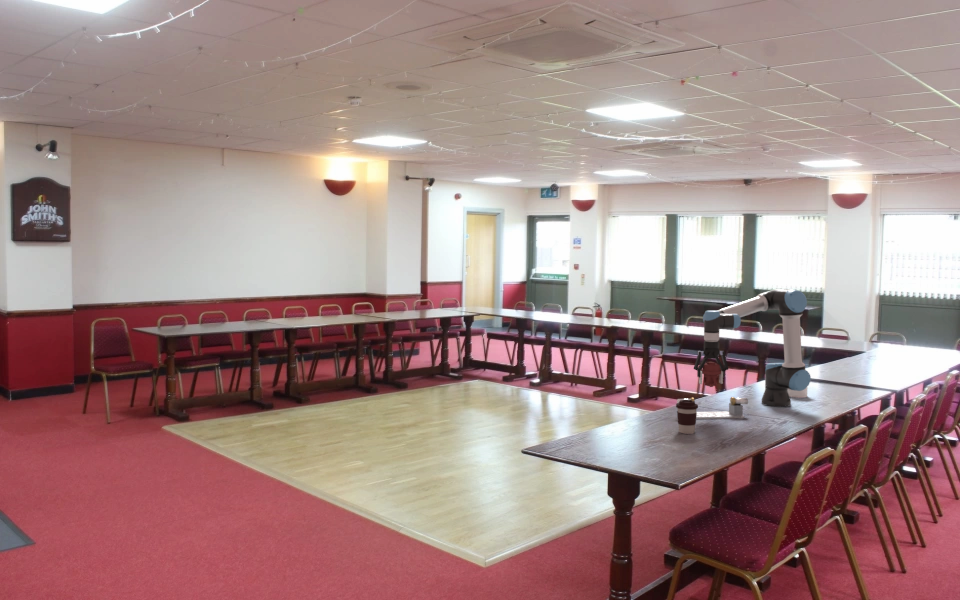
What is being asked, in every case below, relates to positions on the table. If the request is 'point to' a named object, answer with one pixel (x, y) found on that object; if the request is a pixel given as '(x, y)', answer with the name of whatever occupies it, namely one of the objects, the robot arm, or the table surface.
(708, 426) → the table surface
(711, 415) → the shaft bed
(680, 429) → the coffee cup
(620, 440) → the table surface
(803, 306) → the robot arm
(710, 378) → the mechanical component
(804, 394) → the cup
